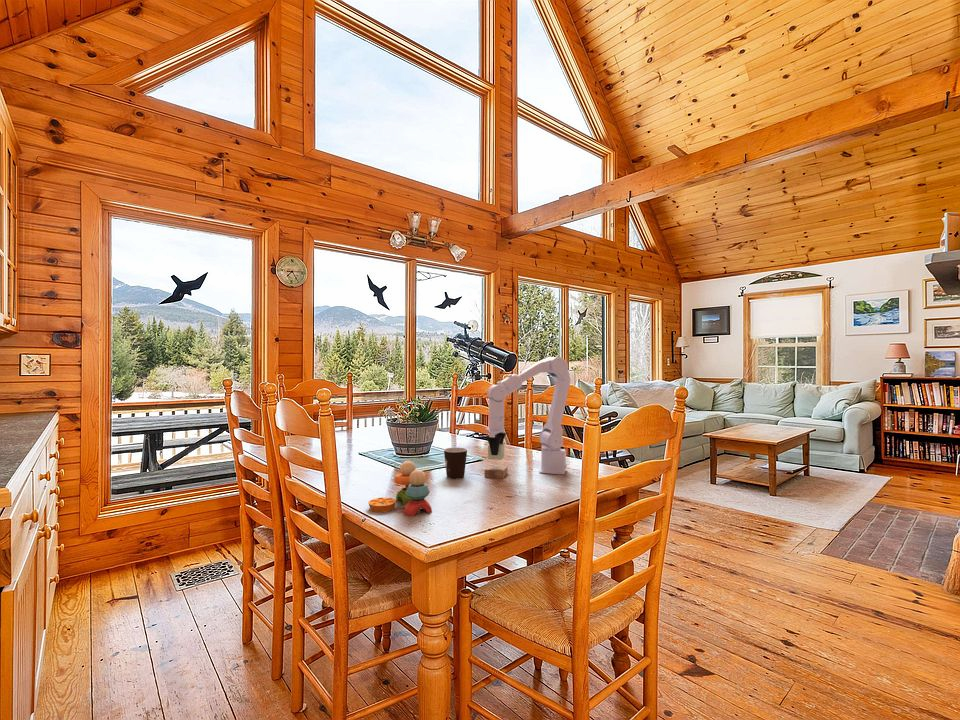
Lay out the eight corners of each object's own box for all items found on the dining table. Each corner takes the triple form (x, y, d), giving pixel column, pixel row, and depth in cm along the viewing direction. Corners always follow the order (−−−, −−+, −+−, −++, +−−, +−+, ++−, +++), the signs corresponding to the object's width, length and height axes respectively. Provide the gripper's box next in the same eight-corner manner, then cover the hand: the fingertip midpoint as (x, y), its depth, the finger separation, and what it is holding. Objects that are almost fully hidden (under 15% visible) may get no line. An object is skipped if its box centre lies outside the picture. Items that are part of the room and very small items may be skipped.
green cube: (504, 457, 183) (504, 444, 183) (501, 459, 178) (501, 446, 178) (491, 456, 184) (491, 443, 184) (488, 459, 179) (488, 445, 179)
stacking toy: (362, 506, 144) (361, 465, 144) (412, 496, 155) (412, 457, 155) (391, 524, 130) (391, 477, 130) (444, 511, 141) (444, 468, 141)
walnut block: (507, 474, 184) (507, 466, 183) (502, 479, 177) (503, 471, 177) (489, 473, 186) (489, 465, 186) (484, 477, 179) (484, 469, 179)
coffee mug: (464, 480, 174) (464, 452, 173) (441, 479, 175) (441, 451, 175) (470, 472, 185) (470, 446, 185) (448, 471, 186) (448, 445, 186)
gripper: (490, 414, 189) (490, 449, 189) (481, 419, 175) (480, 456, 175) (508, 415, 187) (508, 450, 187) (500, 420, 173) (500, 458, 173)
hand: (496, 453), depth 181 cm, fingers closed on green cube, 5 cm apart
